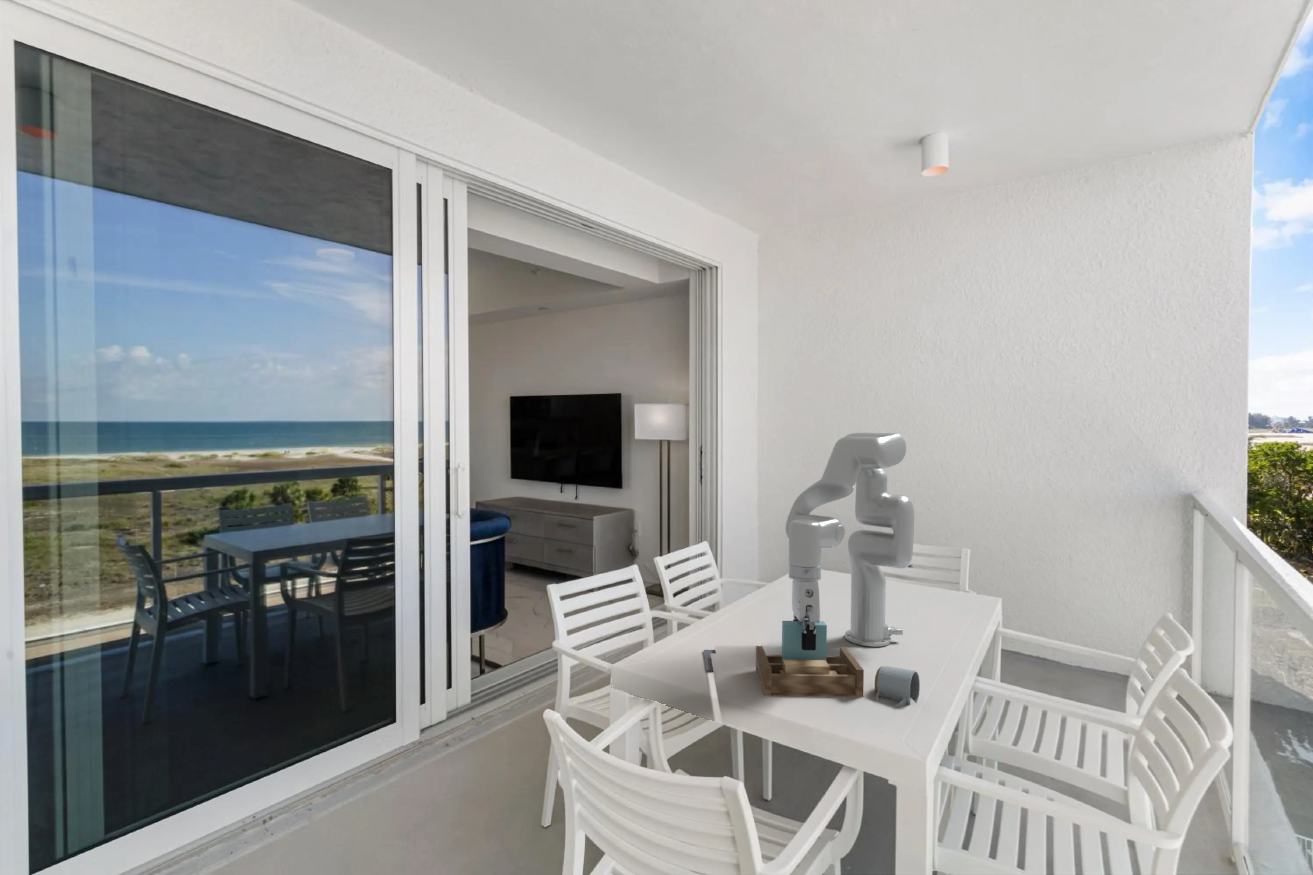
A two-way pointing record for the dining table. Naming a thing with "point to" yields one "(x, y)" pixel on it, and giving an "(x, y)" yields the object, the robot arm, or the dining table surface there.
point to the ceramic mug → (897, 684)
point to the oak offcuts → (806, 667)
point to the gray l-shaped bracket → (709, 660)
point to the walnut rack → (811, 677)
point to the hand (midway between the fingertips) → (804, 642)
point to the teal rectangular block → (794, 642)
